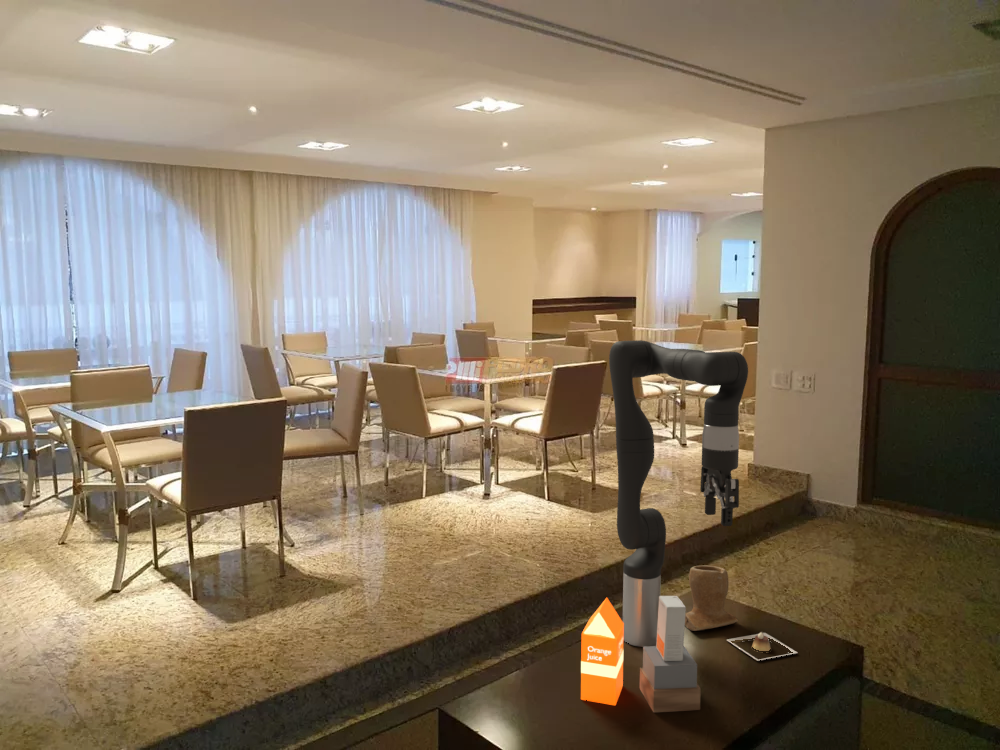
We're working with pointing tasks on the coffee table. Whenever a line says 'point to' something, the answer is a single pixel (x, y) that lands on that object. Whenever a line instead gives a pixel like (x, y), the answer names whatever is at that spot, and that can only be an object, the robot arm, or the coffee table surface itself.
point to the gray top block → (669, 670)
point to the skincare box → (670, 628)
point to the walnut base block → (669, 696)
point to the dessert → (761, 644)
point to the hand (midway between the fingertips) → (718, 519)
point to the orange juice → (602, 656)
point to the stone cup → (708, 598)
